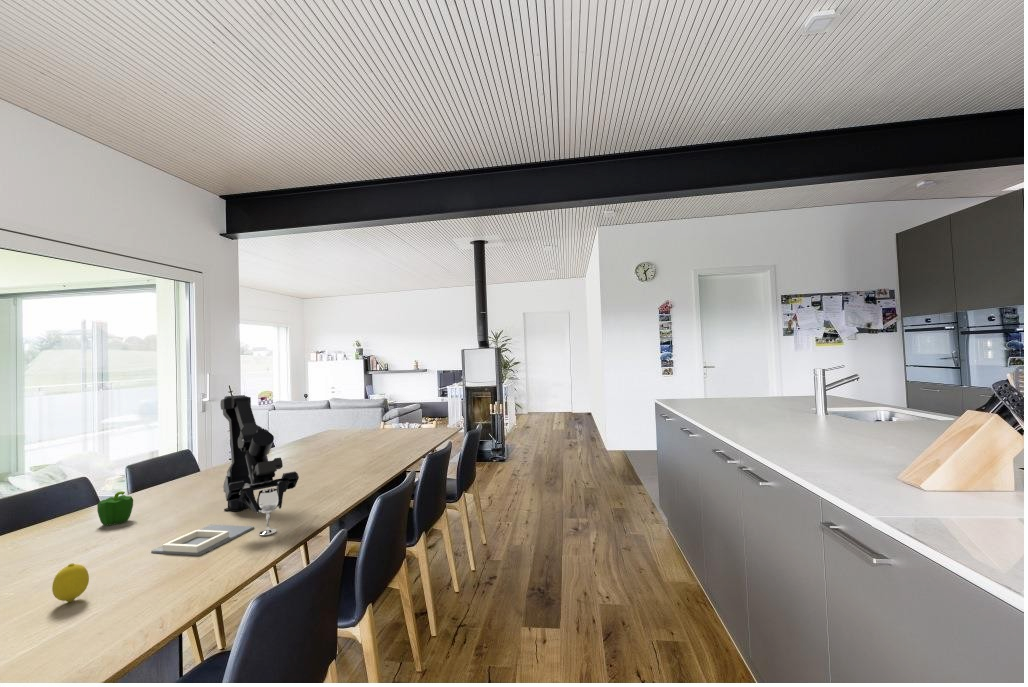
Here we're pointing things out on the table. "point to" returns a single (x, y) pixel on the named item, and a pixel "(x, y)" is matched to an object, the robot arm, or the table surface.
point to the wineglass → (267, 506)
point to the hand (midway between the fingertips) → (269, 510)
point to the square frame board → (202, 540)
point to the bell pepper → (115, 509)
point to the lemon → (70, 582)
